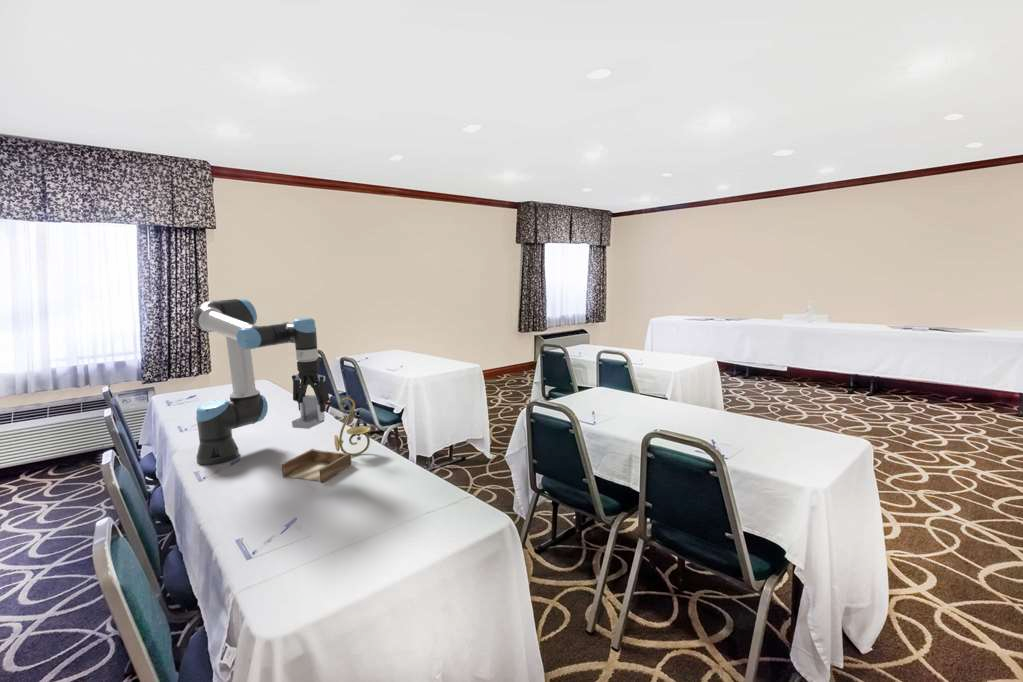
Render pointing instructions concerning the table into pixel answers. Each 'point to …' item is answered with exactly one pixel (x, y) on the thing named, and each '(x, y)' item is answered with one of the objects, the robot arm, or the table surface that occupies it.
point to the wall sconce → (351, 432)
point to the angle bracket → (308, 413)
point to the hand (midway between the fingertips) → (312, 419)
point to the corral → (316, 465)
